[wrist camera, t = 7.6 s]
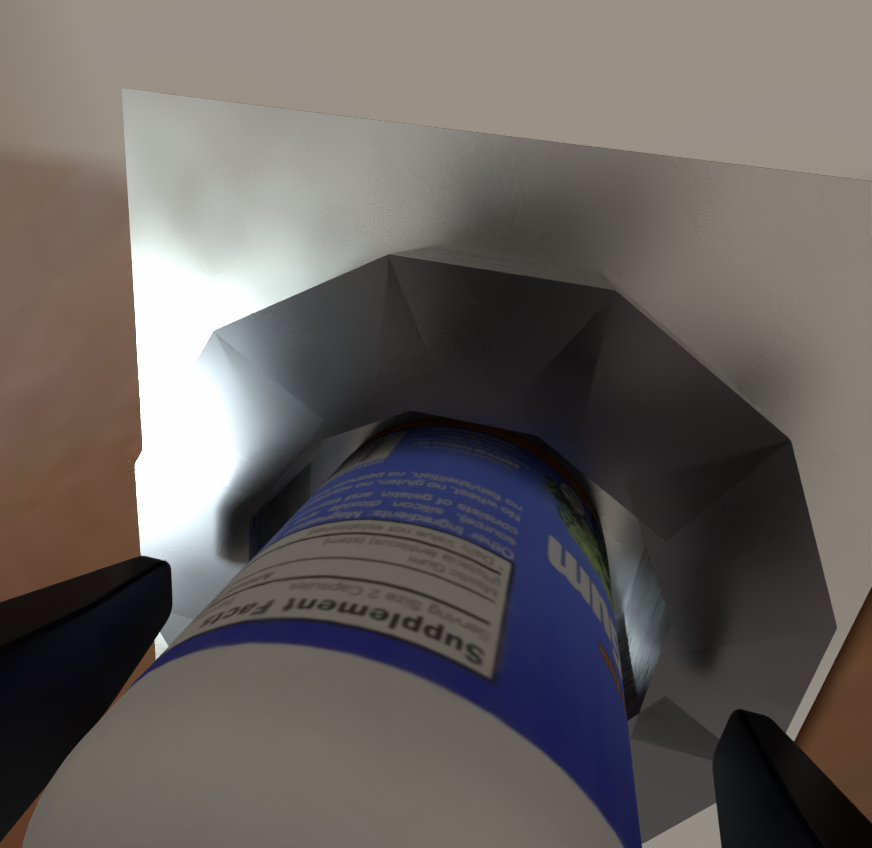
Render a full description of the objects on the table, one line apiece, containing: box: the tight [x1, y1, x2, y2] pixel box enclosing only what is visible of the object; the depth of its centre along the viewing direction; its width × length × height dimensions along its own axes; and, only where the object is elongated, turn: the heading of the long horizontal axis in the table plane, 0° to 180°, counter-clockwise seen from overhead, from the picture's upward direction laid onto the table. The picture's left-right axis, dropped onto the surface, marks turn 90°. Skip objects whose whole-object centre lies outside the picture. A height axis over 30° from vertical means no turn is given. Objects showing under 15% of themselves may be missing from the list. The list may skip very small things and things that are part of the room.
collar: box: [122, 89, 872, 848], centre depth 10 cm, size 14×14×3 cm
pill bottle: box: [22, 415, 642, 848], centre depth 7 cm, size 5×5×10 cm
